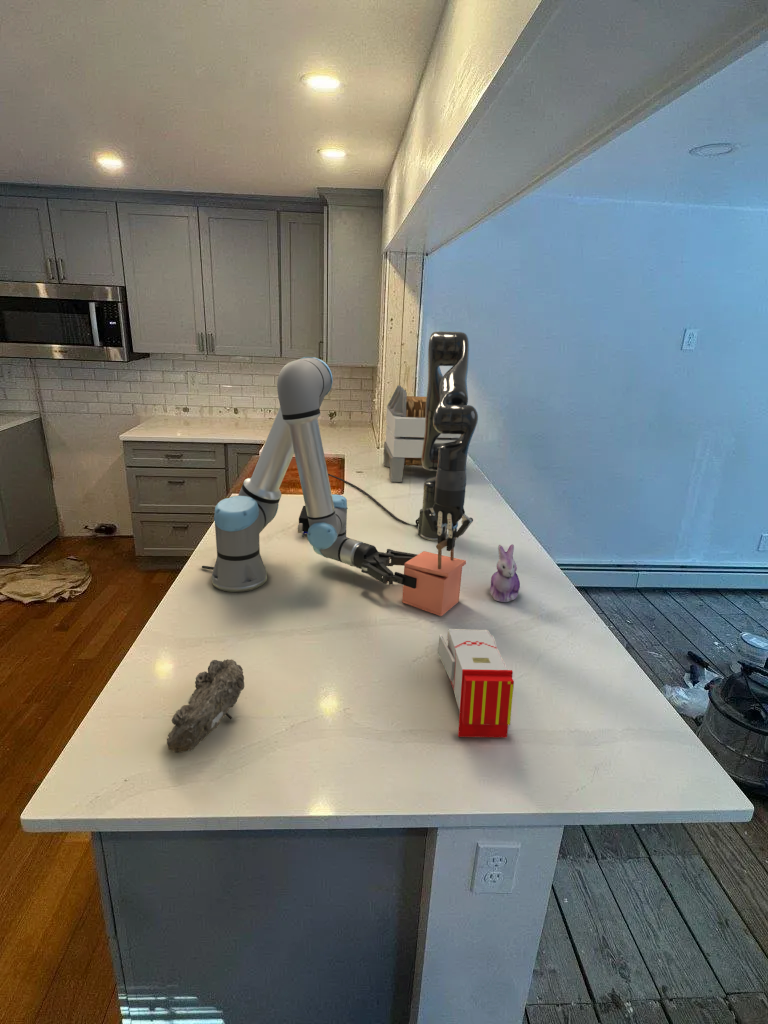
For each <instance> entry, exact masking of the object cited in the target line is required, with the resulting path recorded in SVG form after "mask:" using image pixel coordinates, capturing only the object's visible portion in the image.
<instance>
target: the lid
mask: <svg viewBox="0 0 768 1024" xmlns="http://www.w3.org/2000/svg"><path fill="white" fill-rule="evenodd" d="M447 538H448V537H447ZM447 538H446V539H445V540H443V541H442V542H440V543H438V544H437V543H436V545H435V547H436V548H435V549H436V550H437V553H433V552H429V551H424V550H423V551H422V552H420V553H418V555H417V556H415V557H414V558H412V559H410V560H409V561H407V562H406V563H404V566H403V568H404V567H408V568H412V569H416V570H420V571H424V572H428V573H432V574H436V575H441V576H445V577H449V576H451V575H452V574H453V573H455V572H456V571H457V570H459V569H460V568H461V567H462V568H463V567H464V566H466V564H467V560H466V559H462V558H461V559H460V558H456V557H455V547H454V548H453V549H452V550H451V551H449V552H450V553H449V556H447V555H443V554H442V551H443V549H444V548H447ZM456 540H457V538H455V541H456Z"/></svg>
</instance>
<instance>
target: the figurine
mask: <svg viewBox="0 0 768 1024" xmlns="http://www.w3.org/2000/svg"><path fill="white" fill-rule="evenodd" d="M497 549H498V561H497V563H496V570H497V571H495V572H494V573H493V574H492V575H491V577H490V586H489V594H490V596H491V597H492V599H493V600H494V601H496V602H501V603H508V602H510V601H514V600H516V599H517V597H518V595H519V591H520V588H521V582H520V579H519V576H518V574H517V570H518V566H517V562H516V560H515V559H514V551H515V546H514V544H510V545H509V546H508V548H507V551H506V550H505V549H504V547H503V546H502V545H500V544H499V545H498V547H497Z"/></svg>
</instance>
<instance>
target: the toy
mask: <svg viewBox="0 0 768 1024" xmlns="http://www.w3.org/2000/svg"><path fill="white" fill-rule="evenodd" d="M446 640H447V643H446V641H445V639H444V636H443V635H442V634H439V637H438V646H437V656H438V657H439V659H440V661H441V663H442V666H443V668H444V670H445V672H446V674H447V677H448V679H449V681H450V684H451V687H452V690H453V693H454V697H455V701H456V705H457V708H458V711H459V714H458V715H459V716H458V730H457V731H458V732H457V737H458V738H508V731H509V726H510V725H511V717H512V707H513V697H514V696H513V695H514V684H515V680H514V679H513V673H514V671H513V670H512V669H508V667H507V665H506V662H505V661H504V659H503V658H502V655H501V653H500V651H499V649H498V647H497V643H496V639H495V637H494V635H493V634H491V632H490V631H489V629H467V628H466V629H465V628H463V629H461V628H460V629H459V628H448V630H447V639H446Z"/></svg>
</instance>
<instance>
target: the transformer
mask: <svg viewBox="0 0 768 1024" xmlns="http://www.w3.org/2000/svg"><path fill="white" fill-rule="evenodd" d="M407 394H408V393H407V390H406V389H404V388H403V387H402V385H399V384H398V385H397V386H396V388H395V390H394V392H393V394H392V395H391V398H390V400H389V402H388V404H387V405H386V413H385V414H386V415H385V423H386V428H385V438H384V442H383V466H384V467H388V468H389V475H388V476H389V477H388V478H389V480H390V482H391V483H402V482H403V475H404V469H405V466H406V467H407V466H411V467H412V466H413V467H415V466H416V467H417V466H418V467H423V466H422V461H421V458H422V448H423V441H424V434H425V410H426V398H427V396H415V395H414V396H413V395H412V396H411V395H407ZM460 436H461V434H440V435H439V436H438V438H437V439H436V441H435V442H434V443H448V442H453V441H456V440H458V439H459V437H460Z"/></svg>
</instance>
